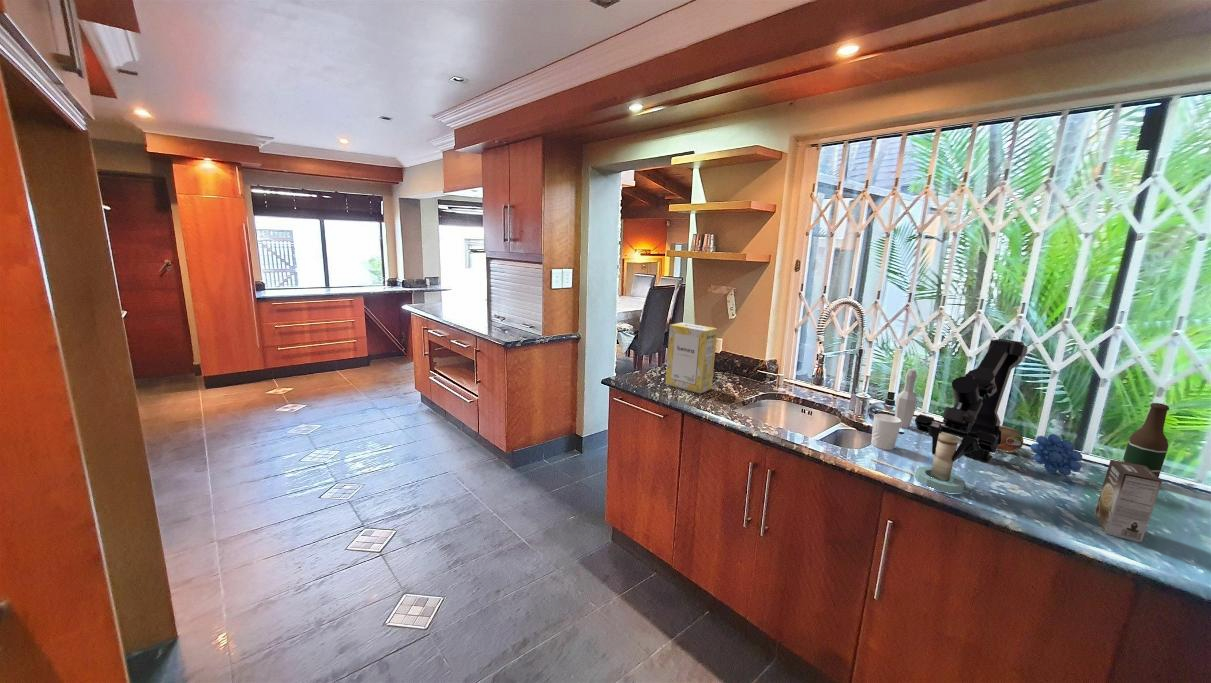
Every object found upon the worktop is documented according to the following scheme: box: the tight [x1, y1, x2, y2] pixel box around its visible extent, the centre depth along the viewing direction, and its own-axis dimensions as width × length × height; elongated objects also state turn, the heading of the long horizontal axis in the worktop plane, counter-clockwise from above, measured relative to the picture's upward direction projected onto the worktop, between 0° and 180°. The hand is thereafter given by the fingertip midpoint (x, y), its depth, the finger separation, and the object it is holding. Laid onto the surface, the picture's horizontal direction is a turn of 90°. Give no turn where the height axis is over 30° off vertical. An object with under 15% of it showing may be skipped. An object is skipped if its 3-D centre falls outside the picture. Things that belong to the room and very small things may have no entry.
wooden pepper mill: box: [931, 432, 959, 482], centre depth 129 cm, size 4×4×12 cm
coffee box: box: [1093, 459, 1163, 543], centre depth 110 cm, size 9×6×16 cm
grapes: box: [1030, 434, 1083, 477], centre depth 139 cm, size 12×7×12 cm, turn 44°
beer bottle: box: [1122, 402, 1170, 478], centre depth 136 cm, size 8×8×24 cm
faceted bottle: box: [894, 368, 918, 429], centre depth 172 cm, size 6×6×22 cm
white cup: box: [870, 413, 901, 451], centre depth 154 cm, size 8×8×10 cm
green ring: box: [914, 466, 966, 494], centre depth 130 cm, size 11×11×2 cm
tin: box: [997, 424, 1024, 453], centre depth 157 cm, size 15×3×8 cm, turn 41°
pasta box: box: [665, 322, 718, 395], centre depth 208 cm, size 18×10×28 cm, turn 50°
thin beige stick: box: [871, 457, 916, 476], centre depth 139 cm, size 1×12×1 cm, turn 39°
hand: (942, 457), depth 128 cm, fingers closed on wooden pepper mill, 4 cm apart
